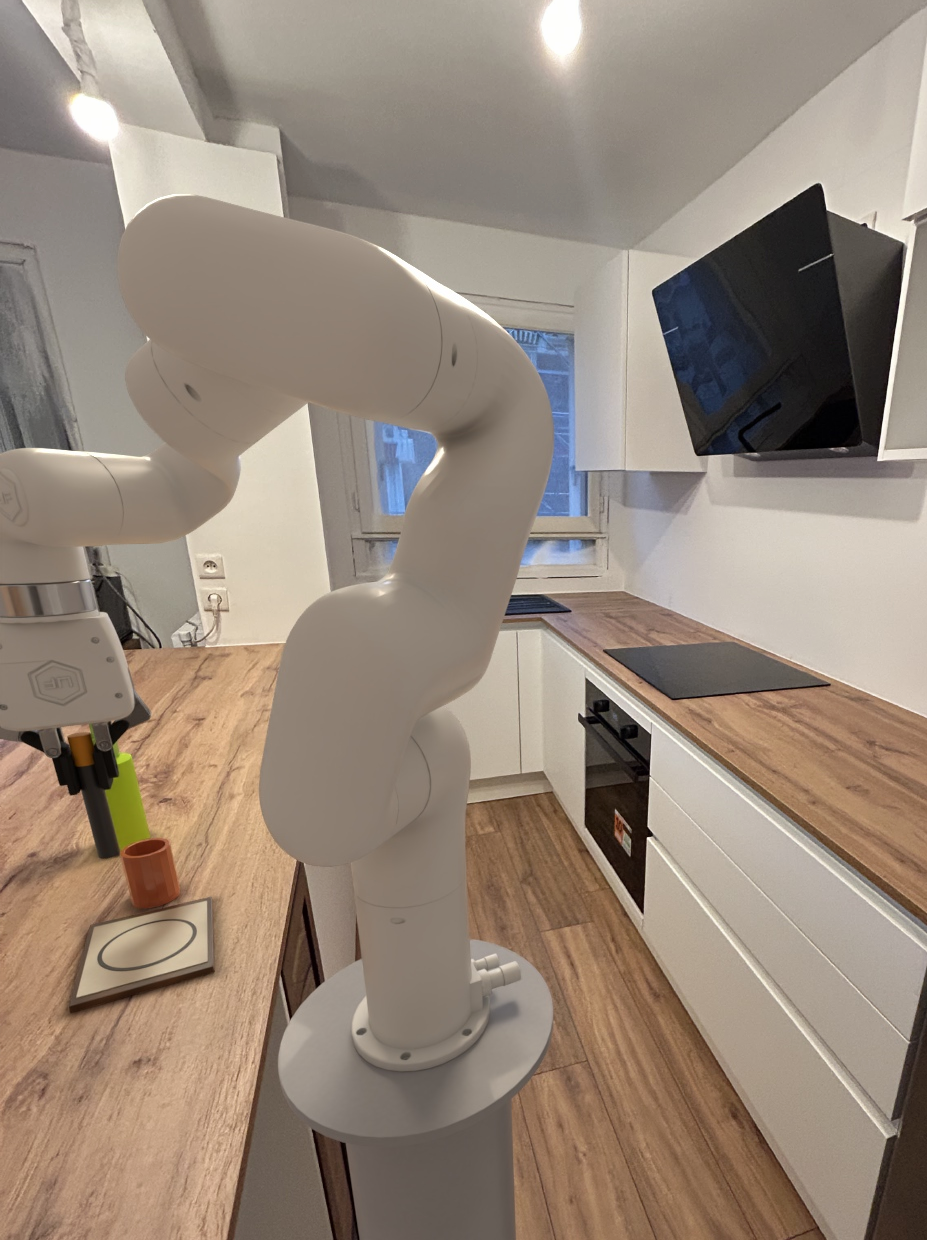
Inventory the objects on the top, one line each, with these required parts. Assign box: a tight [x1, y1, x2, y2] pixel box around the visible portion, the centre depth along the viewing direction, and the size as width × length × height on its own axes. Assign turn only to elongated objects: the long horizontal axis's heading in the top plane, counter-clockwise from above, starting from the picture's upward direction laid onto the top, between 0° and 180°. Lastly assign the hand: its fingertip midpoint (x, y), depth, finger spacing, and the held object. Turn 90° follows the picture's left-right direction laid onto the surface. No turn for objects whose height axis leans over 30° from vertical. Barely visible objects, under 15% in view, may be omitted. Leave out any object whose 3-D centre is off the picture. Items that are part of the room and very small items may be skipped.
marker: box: [66, 731, 120, 860], centre depth 65 cm, size 2×2×13 cm
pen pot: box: [119, 837, 181, 909], centre depth 80 cm, size 5×5×7 cm
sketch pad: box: [68, 896, 216, 1014], centre depth 71 cm, size 12×15×1 cm
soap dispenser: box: [88, 724, 152, 851], centre depth 90 cm, size 6×7×20 cm
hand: (92, 786), depth 64 cm, fingers closed on marker, 1 cm apart
